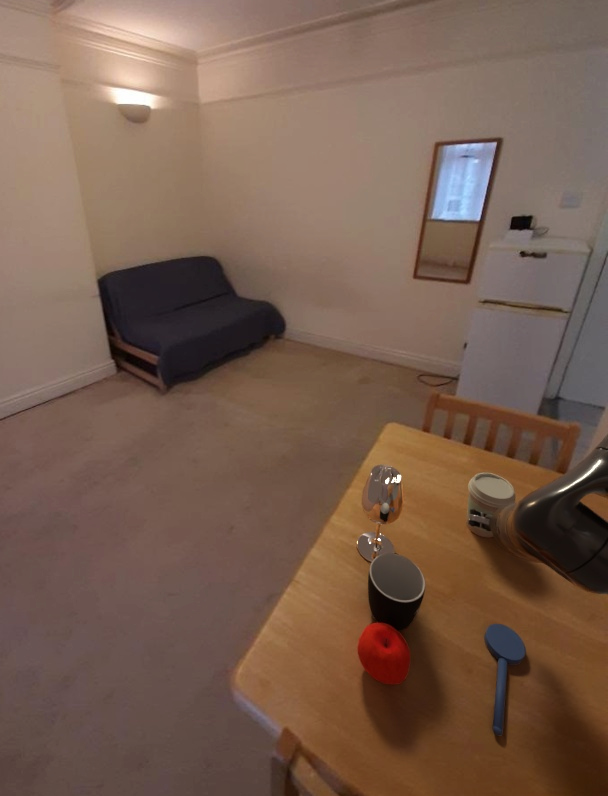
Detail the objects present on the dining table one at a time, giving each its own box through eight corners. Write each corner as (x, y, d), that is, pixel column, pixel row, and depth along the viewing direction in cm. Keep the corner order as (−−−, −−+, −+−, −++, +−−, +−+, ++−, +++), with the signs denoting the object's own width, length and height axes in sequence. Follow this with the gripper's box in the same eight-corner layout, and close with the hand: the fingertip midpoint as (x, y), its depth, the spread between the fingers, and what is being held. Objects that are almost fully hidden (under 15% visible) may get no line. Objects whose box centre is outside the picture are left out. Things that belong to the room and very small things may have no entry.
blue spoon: (486, 622, 70) (487, 617, 70) (524, 640, 67) (526, 635, 67) (473, 723, 58) (475, 718, 57) (519, 750, 55) (522, 745, 54)
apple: (414, 698, 61) (421, 671, 58) (360, 694, 61) (364, 667, 58) (400, 641, 68) (405, 614, 65) (352, 638, 69) (355, 611, 65)
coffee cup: (503, 520, 89) (517, 478, 84) (503, 549, 83) (517, 506, 77) (461, 505, 93) (471, 465, 88) (457, 533, 87) (468, 491, 81)
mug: (417, 647, 67) (426, 610, 63) (361, 630, 70) (367, 592, 65) (416, 582, 77) (424, 546, 73) (367, 569, 80) (372, 533, 76)
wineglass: (398, 567, 80) (412, 491, 71) (357, 562, 81) (366, 487, 73) (391, 534, 87) (403, 461, 78) (354, 530, 88) (362, 458, 80)
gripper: (587, 518, 55) (546, 517, 70) (477, 490, 60) (461, 494, 75) (584, 577, 53) (542, 562, 68) (471, 542, 58) (456, 536, 73)
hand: (500, 527), depth 72 cm, fingers closed
